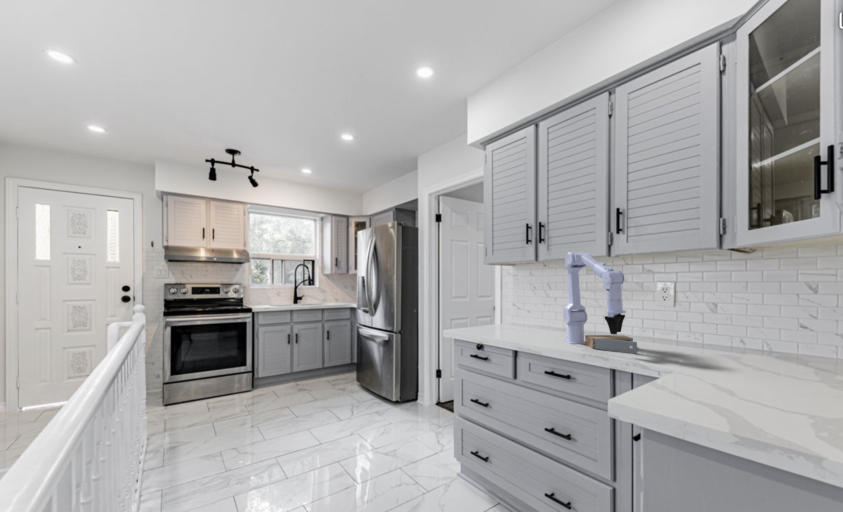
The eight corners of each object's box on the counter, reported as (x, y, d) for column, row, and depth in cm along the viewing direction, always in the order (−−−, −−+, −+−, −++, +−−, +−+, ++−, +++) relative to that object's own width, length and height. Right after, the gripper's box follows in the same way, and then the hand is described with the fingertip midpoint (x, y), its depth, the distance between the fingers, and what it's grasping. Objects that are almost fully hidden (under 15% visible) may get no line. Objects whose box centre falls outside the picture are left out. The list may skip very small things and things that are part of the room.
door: (594, 348, 161) (593, 338, 161) (637, 352, 150) (636, 341, 150) (592, 349, 159) (592, 338, 159) (636, 353, 148) (635, 342, 149)
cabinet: (585, 345, 170) (585, 335, 170) (623, 344, 168) (623, 335, 168) (592, 348, 161) (592, 338, 161) (633, 348, 159) (632, 338, 160)
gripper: (620, 301, 143) (622, 336, 142) (628, 299, 154) (630, 331, 153) (601, 300, 148) (603, 334, 147) (610, 298, 159) (612, 330, 158)
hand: (615, 333), depth 150 cm, fingers open, 6 cm apart
